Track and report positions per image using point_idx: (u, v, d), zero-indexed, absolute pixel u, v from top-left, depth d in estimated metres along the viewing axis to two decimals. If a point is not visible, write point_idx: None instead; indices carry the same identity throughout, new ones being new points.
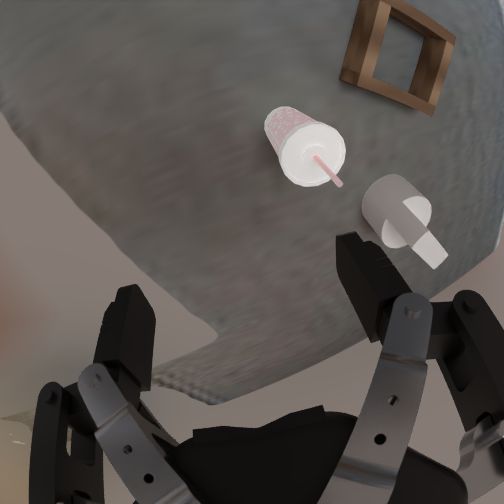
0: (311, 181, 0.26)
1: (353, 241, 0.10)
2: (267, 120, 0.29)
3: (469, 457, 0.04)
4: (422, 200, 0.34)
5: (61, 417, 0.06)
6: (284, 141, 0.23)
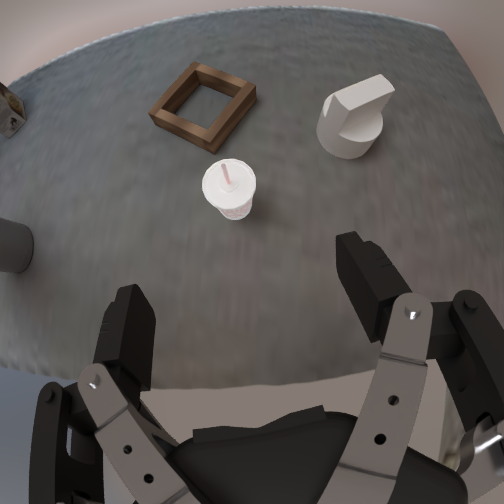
0: (250, 190, 0.32)
1: (353, 241, 0.10)
2: None
3: (469, 457, 0.04)
4: (331, 98, 0.37)
5: (61, 417, 0.06)
6: (209, 201, 0.33)
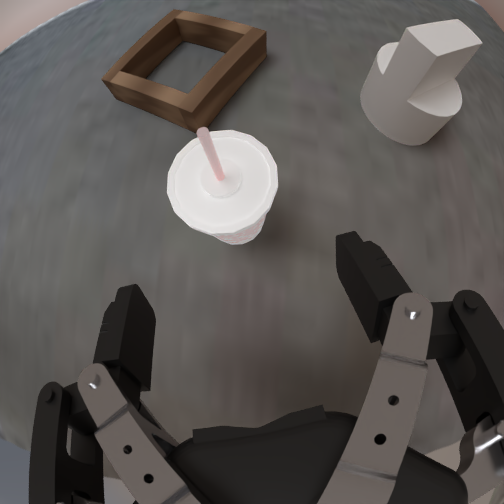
0: (266, 193, 0.15)
1: (353, 241, 0.10)
2: None
3: (470, 457, 0.04)
4: (386, 50, 0.20)
5: (61, 417, 0.06)
6: None
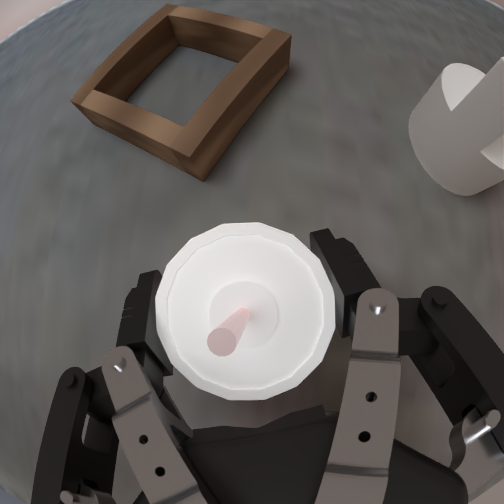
0: (316, 339, 0.09)
1: (325, 238, 0.10)
2: None
3: (462, 451, 0.04)
4: (449, 74, 0.14)
5: (80, 405, 0.07)
6: None
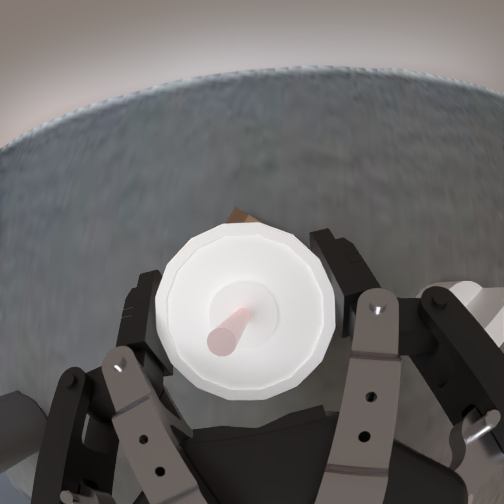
0: (316, 339, 0.09)
1: (325, 238, 0.10)
2: None
3: (461, 451, 0.04)
4: None
5: (80, 405, 0.07)
6: None
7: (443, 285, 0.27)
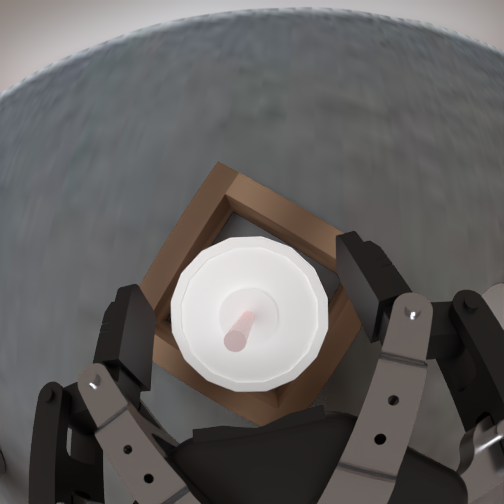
0: (311, 338, 0.11)
1: (353, 241, 0.10)
2: None
3: (469, 457, 0.04)
4: None
5: (61, 417, 0.06)
6: None
7: None
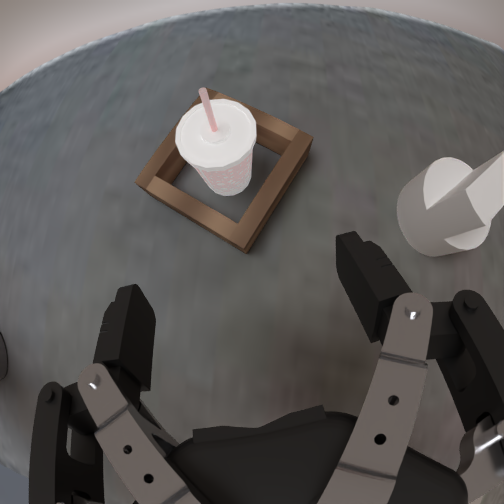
0: (247, 140, 0.20)
1: (353, 241, 0.10)
2: None
3: (470, 457, 0.04)
4: (432, 172, 0.22)
5: (60, 417, 0.06)
6: (186, 159, 0.21)
7: None
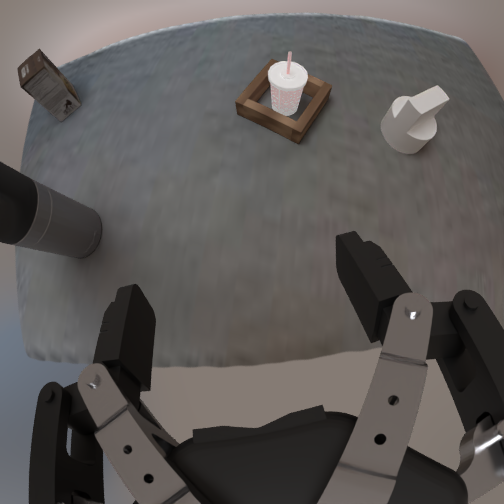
0: (304, 79, 0.38)
1: (353, 241, 0.10)
2: (276, 111, 0.47)
3: (469, 457, 0.04)
4: (396, 102, 0.40)
5: (61, 417, 0.06)
6: (274, 85, 0.39)
7: None
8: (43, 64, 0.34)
